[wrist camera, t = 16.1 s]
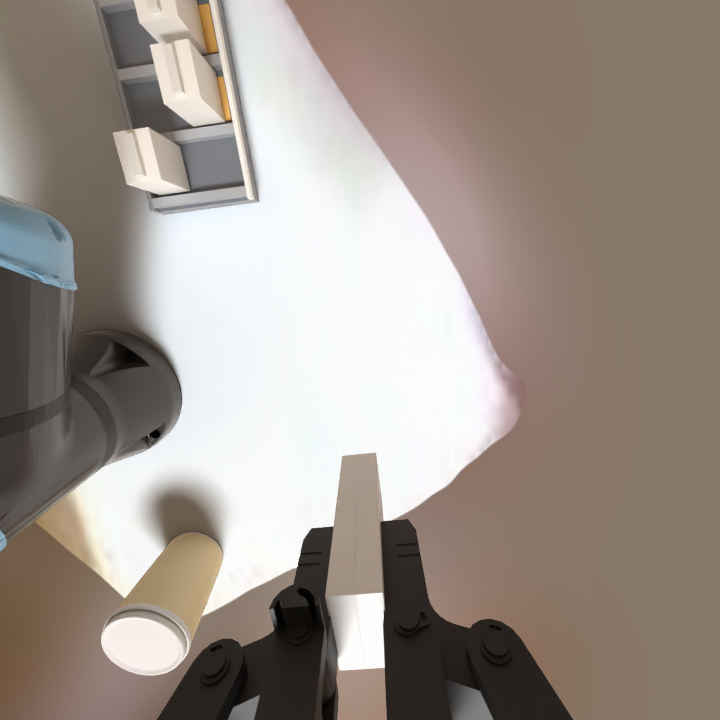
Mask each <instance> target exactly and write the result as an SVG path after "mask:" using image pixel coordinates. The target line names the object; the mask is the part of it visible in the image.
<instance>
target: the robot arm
mask: <svg viewBox="0 0 720 720" xmlns="http://www.w3.org/2000/svg"><path fill="white" fill-rule="evenodd" d="M77 288H78V285H77V283H76V281H75V280H74V259H73V241H72V238H71V235H70V233H69V231H68V230H67V229H66V227H65V226H64V225H63V224H62V223H61V222H60V221H59V220H57V219H56V218H55V217H53V216H52V215H50V214H48V213H46V212H44V211H42V210H39V209H37V208H34V207H32V206H29V205H26V204H24V203H21V202H18V201H15V200H12V199H10V198H7V197H4V196H1V195H0V551H1V550H2V549H3V548H4V547H5V546H6V544H7V543H8V542H9V541H11V540H12V539H13V538H14V537H16V536H17V535H18V534H19V533H21V532H22V531H23V530H24V529H26V528H27V527H28V526H29V525H31V524H32V523H33V522H34V521H36V520H37V519H38V518H39V517H41V516H42V515H43V514H44V513H46V512H47V511H48V510H49V509H51V508H52V507H53V506H54V505H56V504H57V503H58V502H59V501H61V500H62V499H63V498H64V497H65V496H67V495H68V494H69V493H70V492H72V491H73V490H74V489H75V488H77V487H78V486H79V485H80V484H82V483H83V482H84V481H86V480H87V479H88V478H89V477H91V476H92V475H93V474H94V473H95V472H97V471H98V470H99V469H101V468H102V467H103V466H105V465H108V464H111V463H114V462H117V461H119V460H122V459H125V458H128V457H131V456H134V455H136V454H139V453H142V452H144V451H146V450H148V449H150V448H151V447H153V446H154V445H156V444H157V443H158V442H159V441H160V440H162V439H163V438H164V437H165V436H166V435H167V434H168V433H169V432H170V431H171V430H172V429H173V427H174V426H175V424H176V422H177V420H178V418H179V415H180V410H181V391H180V387H179V383H178V380H177V378H176V376H175V374H174V372H173V370H172V368H171V367H170V365H169V364H168V362H167V361H166V360H165V359H164V358H163V356H162V355H161V354H160V353H159V352H158V351H156V350H155V349H154V348H153V347H152V346H150V345H149V344H147V343H146V342H144V341H143V340H141V339H139V338H137V337H135V336H132V335H130V334H127V333H123V332H119V331H113V330H96V331H91V332H87V333H83V334H79V335H75V336H72V328H73V310H74V293H75V291H76V290H77ZM300 554H301V555H300V557H299V562H298V567H297V571H296V576H295V580H294V584H293V585H291V586H289V587H287V588H285V589H284V590H282V591H281V592H280V593H279V594H278V595H277V596H276V597H275V598H274V599H273V602H272V604H271V606H270V608H269V610H270V615H271V618H272V622H273V626H274V629H275V630H274V631H273V632H272V633H270V634H269V635H267V636H266V637H264V638H262V639H260V640H258V641H255V642H253V643H250V644H248V645H246V646H244V647H241V646H240V644H239V643H238V642H237V641H235V640H233V639H221V640H219V641H217V642H214V643H212V644H210V645H209V646H208V647H207V648H206V649H204V650H203V651H202V652H201V653H200V654H199V655H198V657H197V658H196V659H195V660H194V662H193V663H192V665H191V666H190V668H189V670H188V671H187V673H186V674H185V676H184V677H183V679H182V681H181V682H180V684H179V685H178V687H177V689H176V690H175V692H174V693H173V695H172V697H171V698H170V700H169V701H168V703H167V705H166V706H165V708H164V709H163V711H162V713H161V714H160V716H159V717H158V719H157V720H337V713H338V687H337V681H336V675H337V661H338V665H339V670H354V669H370V668H385V685H386V707H387V720H573V719H572V717H571V716H570V714H569V713H568V711H567V710H566V708H565V706H564V705H563V703H562V702H561V700H560V699H559V697H558V696H557V694H556V693H555V691H554V689H553V688H552V686H551V685H550V683H549V682H548V680H547V679H546V677H545V675H544V674H543V672H542V671H541V669H540V668H539V666H538V665H537V663H536V662H535V660H534V659H533V657H532V655H531V654H530V652H529V651H528V650H527V648H526V646H525V645H524V643H523V642H522V640H521V638H520V637H519V636H518V635H517V634H516V633H515V632H514V630H513V629H512V628H510V627H509V626H507V625H505V624H504V623H502V622H500V621H496V620H493V619H485V620H480V621H478V622H476V623H475V624H473V625H472V627H471V628H467V627H463V626H459V625H456V624H453V623H451V622H448V621H446V620H445V619H443V618H442V617H440V616H439V615H438V614H437V613H436V612H435V611H434V609H433V607H432V606H431V604H430V601H429V598H428V594H427V589H426V583H425V577H424V572H423V567H422V561H421V556H420V550H419V545H418V539H417V534H416V529H415V528H414V527H413V525H412V524H411V523H410V521H409V520H408V519H405V520H393V521H383V509H382V499H381V490H380V482H379V474H378V466H377V458H376V453H368V454H358V455H348V456H342V463H341V472H340V480H339V488H338V496H337V504H336V512H335V520H334V527H323V528H312V529H311V530H310V531H309V533H308V534H307V536H306V537H305V539H304V540H303V544H302V549H301V553H300Z"/></svg>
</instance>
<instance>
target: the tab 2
mask: <svg viewBox="0 0 720 720" xmlns="http://www.w3.org/2000/svg"><path fill="white" fill-rule="evenodd" d="M150 48H151V53H152V57H153V61H154V65H155V69H156V73H157V78H158V82H159V86H160V90H161V94H162V98H163V103H164V104H165V105H166V106H168V107H169V108H170V109H171V110H173V111H174V112H175V113H177V114H178V115H179V116H180V117H182V118H183V119H184V120H186V121H187V122H188V123H189V124H191V125H192V126H193V127H196V126H203V125H209V124H216V123H223V122H225V117H224V112H223V107H222V102H221V97H220V92H219V87H218V82H217V77H216V73H215V71H214V70H213V69H212V68H211V66H210V65H209V64H208V63H207V61H206V60H205V59H204V58H203V56H202V55H201V54H200V53H199V51H198V50H197V49H196V48H195V46H194V45H193V44H192V43H191V41H190V40H189V39H182V40H176V41H170V42H164V43H158V44H151V45H150Z"/></svg>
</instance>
